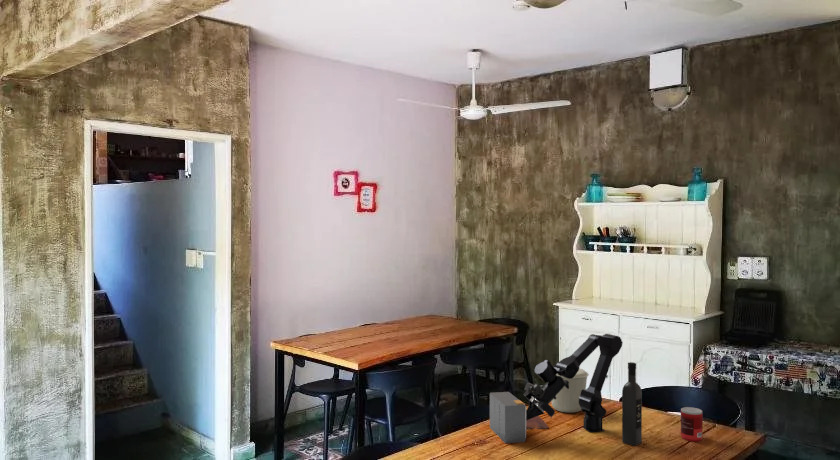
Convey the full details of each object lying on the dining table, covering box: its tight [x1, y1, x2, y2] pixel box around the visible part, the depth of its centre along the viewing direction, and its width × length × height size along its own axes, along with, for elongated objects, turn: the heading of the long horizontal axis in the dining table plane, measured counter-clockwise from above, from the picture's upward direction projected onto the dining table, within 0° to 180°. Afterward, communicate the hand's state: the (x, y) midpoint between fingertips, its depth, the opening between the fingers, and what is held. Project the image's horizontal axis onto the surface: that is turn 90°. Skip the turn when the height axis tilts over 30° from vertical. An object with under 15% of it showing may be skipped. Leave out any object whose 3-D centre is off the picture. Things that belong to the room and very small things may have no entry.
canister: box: [550, 367, 589, 414], centre depth 277 cm, size 18×18×21 cm
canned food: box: [680, 406, 704, 443], centre depth 239 cm, size 8×8×11 cm
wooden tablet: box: [526, 409, 549, 430], centre depth 263 cm, size 27×10×2 cm, turn 3°
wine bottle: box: [621, 361, 643, 447], centre depth 234 cm, size 6×6×30 cm
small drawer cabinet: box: [489, 391, 526, 444], centre depth 243 cm, size 9×19×14 cm, turn 11°
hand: (524, 419), depth 238 cm, fingers closed, pressing on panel
